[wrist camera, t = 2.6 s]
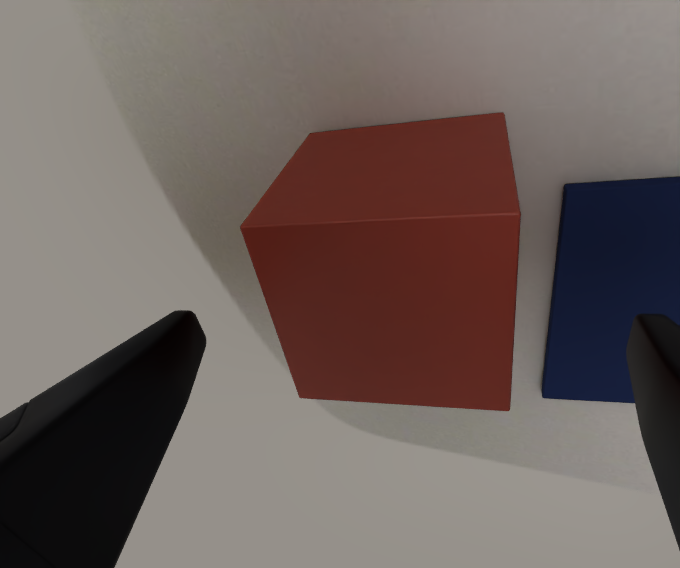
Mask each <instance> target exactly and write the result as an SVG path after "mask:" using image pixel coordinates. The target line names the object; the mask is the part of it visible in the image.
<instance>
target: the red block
mask: <svg viewBox="0 0 680 568" xmlns="http://www.w3.org/2000/svg"><path fill="white" fill-rule="evenodd" d="M520 217H521V212H520V206H519V200H518V194H517V188H516V182H515V176H514V170H513V164H512V158H511V152H510V146H509V140H508V133H507V127H506V121H505V115H504V113H492V114H483V115H474V116H464V117H455V118H446V119H437V120H427V121H418V122H409V123H399V124H390V125H381V126H372V127H362V128H353V129H344V130H335V131H325V132H316V133H310V134H309V135H308V137H307V138H306V139H305V141H304V142H303V143H302V145H301V146H300V147H299V149H298V150H297V151H296V152H295V154H294V155H293V156H292V158H291V159H290V160H289V162H288V163H287V164H286V166H285V167H284V168H283V170H282V171H281V172H280V174H279V175H278V176H277V178H276V179H275V180H274V182H273V183H272V184H271V186H270V187H269V188H268V190H267V191H266V192H265V194H264V195H263V196H262V198H261V199H260V200H259V202H258V203H257V204H256V206H255V207H254V208H253V210H252V211H251V212H250V214H249V215H248V216H247V218H246V219H245V220H244V222H243V223H242V224H241V226H240V229H241V232H242V234H243V237H244V240H245V243H246V246H247V249H248V252H249V255H250V257H251V260H252V263H253V266H254V269H255V272H256V275H257V277H258V280H259V283H260V286H261V289H262V292H263V295H264V297H265V300H266V303H267V306H268V309H269V312H270V315H271V318H272V320H273V323H274V326H275V329H276V332H277V335H278V338H279V340H280V343H281V346H282V349H283V352H284V355H285V358H286V360H287V363H288V366H289V369H290V372H291V375H292V378H293V381H294V383H295V386H296V389H297V392H298V395H299V397H300V398H307V399H323V400H339V401H354V402H370V403H386V404H402V405H418V406H433V407H449V408H465V409H481V410H497V411H509V410H510V402H511V384H512V365H513V347H514V328H515V310H516V291H517V273H518V254H519V236H520Z"/></svg>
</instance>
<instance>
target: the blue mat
mask: <svg viewBox="0 0 680 568" xmlns="http://www.w3.org/2000/svg"><path fill="white" fill-rule="evenodd" d="M638 314H663V315H665V316H667V317H668V318H670V319H671V320H672V321H674V322H675V323H677V324H678V325H679V326H680V177H668V178H653V179H637V180H622V181H606V182H591V183H575V184H565V185H564V191H563V200H562V209H561V218H560V227H559V236H558V245H557V254H556V263H555V272H554V281H553V290H552V299H551V308H550V317H549V326H548V335H547V344H546V353H545V362H544V371H543V380H542V389H541V390H542V397H543V398H549V399H567V400H585V401H603V402H622V403H635V400H634V395H633V389H632V384H631V379H630V374H629V369H628V364H627V358H626V348H627V343H628V339H629V335H630V331H631V327H632V323H633V320H634V318H635V316H636V315H638Z"/></svg>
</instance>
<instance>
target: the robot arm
mask: <svg viewBox="0 0 680 568" xmlns="http://www.w3.org/2000/svg"><path fill="white" fill-rule="evenodd" d="M205 347H206V336H205V334H204V332H203V330H202V328H201V325H200V324H199V321H198V319H197V317H196V315H195V314H194V313H193V312H192V311H182V310H181V311H174V312H172V313H170V314H169V315H167V316H166V317H164V318H162V319H161V320H159V321H158V322H156V323H154V324H153V325H151V326H149V327H148V328H146V329H144V330H143V331H141V332H140V333H138V334H136V335H135V336H133V337H131V338H130V339H128V340H127V341H125V342H123V343H122V344H120V345H119V346H117V347H115V348H114V349H112V350H110V351H109V352H107V353H106V354H104V355H102V356H101V357H99V358H97V359H96V360H94V361H93V362H91V363H90V364H88V365H86V366H85V367H83V368H81V369H80V370H78V371H77V372H75V373H73V374H72V375H70V376H68V377H67V378H65V379H64V380H62V381H60V382H59V383H57V384H56V385H54V386H52V387H51V388H49V389H47V390H46V391H44V392H42V393H41V394H39V395H38V396H36V397H35V398H33V399H31V400H30V401H29V403H24V404H23V405H21V406H20V407H18V408H16V409H15V410H13V411H12V412H10V413H8V414H7V415H5V416H3V417H2V418H0V568H114V567H115V565H116V563H117V561H118V558H119V556H120V554H121V552H122V549H123V547H124V545H125V542H126V540H127V538H128V536H129V533H130V531H131V529H132V527H133V524H134V522H135V520H136V518H137V515H138V513H139V511H140V509H141V506H142V504H143V502H144V500H145V497H146V495H147V493H148V491H149V488H150V486H151V484H152V482H153V479H154V477H155V475H156V472H157V470H158V468H159V466H160V464H161V461H162V459H163V457H164V454H165V452H166V450H167V448H168V446H169V443H170V441H171V439H172V436H173V434H174V432H175V430H176V428H177V425H178V423H179V421H180V419H181V416H182V414H183V412H184V409H185V407H186V404H187V402H188V399H189V396H190V393H191V390H192V387H193V384H194V381H195V378H196V375H197V372H198V368H199V366H200V363H201V359H202V356H203V353H204V350H205ZM626 358H627V364H628V369H629V374H630V379H631V384H632V389H633V395H634V400H635V405H636V410H637V415H638V420H639V425H640V430H641V434H642V438H643V441H644V445H645V448H646V451H647V454H648V457H649V460H650V463H651V466H652V469H653V472H654V475H655V478H656V481H657V484H658V487H659V490H660V493H661V496H662V499H663V502H664V505H665V508H666V510H667V514H668V517H669V520H670V523H671V526H672V529H673V532H674V534H675V537H676V541H677V544H678V547H679V550H680V326H679V325H678V324H677V323H675V322H674V321H672V320H671V319H670V318H668V317H667V316H665V315H663V314H638V315H636V316H635V318H634V320H633V323H632V327H631V331H630V335H629V339H628V343H627V348H626Z"/></svg>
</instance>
